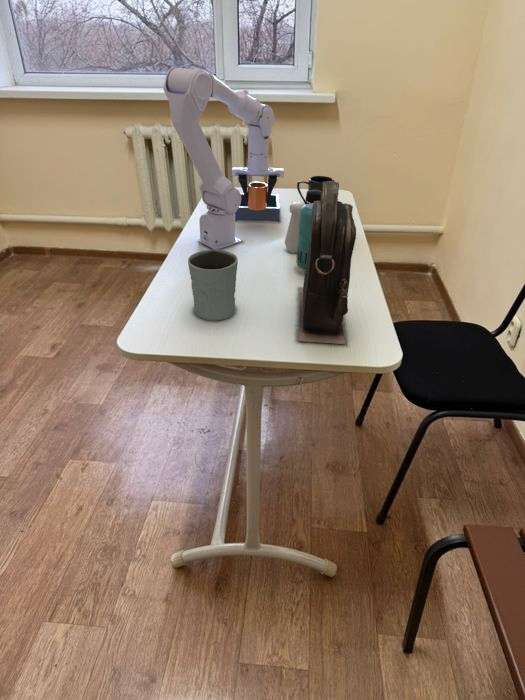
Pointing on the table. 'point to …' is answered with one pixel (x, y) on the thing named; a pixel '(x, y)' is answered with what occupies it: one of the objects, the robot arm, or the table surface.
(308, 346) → the table surface
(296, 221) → the salt shaker
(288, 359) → the table surface
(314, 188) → the mug
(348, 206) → the shoulder bag
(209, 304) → the grey plant pot
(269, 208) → the dark grey storage bin
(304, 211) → the beverage bottle
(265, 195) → the cup
